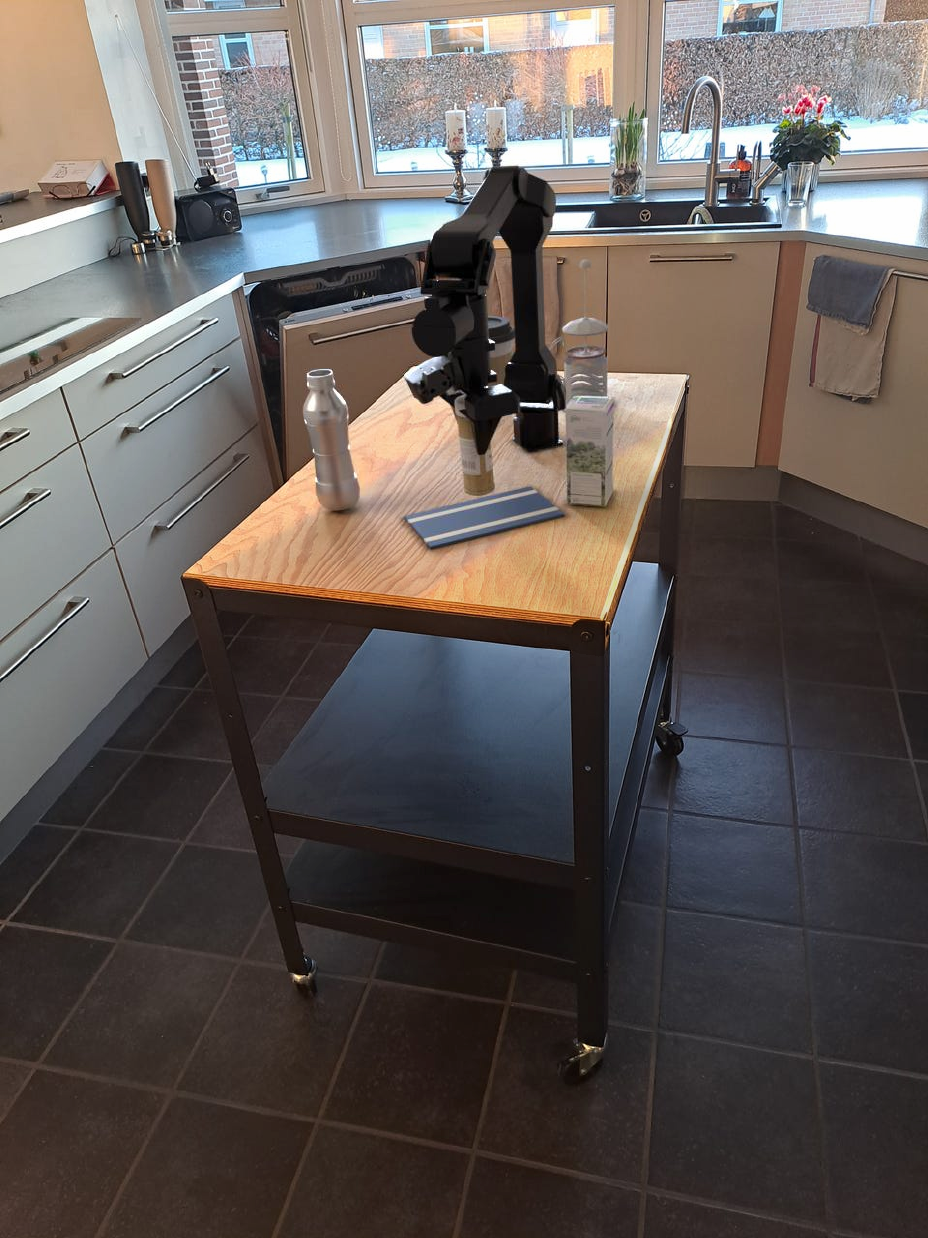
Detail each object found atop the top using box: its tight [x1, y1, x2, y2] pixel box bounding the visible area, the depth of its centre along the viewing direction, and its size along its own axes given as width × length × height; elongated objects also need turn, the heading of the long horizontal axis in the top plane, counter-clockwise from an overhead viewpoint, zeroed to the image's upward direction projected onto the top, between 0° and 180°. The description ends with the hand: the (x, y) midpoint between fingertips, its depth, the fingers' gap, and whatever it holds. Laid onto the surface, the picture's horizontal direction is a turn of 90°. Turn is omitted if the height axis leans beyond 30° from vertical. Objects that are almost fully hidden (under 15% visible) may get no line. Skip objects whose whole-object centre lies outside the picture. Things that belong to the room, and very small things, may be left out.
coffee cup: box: [487, 315, 515, 387], centre depth 168 cm, size 11×11×15 cm
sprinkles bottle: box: [455, 395, 496, 497], centre depth 126 cm, size 5×5×13 cm
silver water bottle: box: [302, 368, 361, 511], centre depth 132 cm, size 6×7×20 cm
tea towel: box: [403, 485, 565, 550], centre depth 130 cm, size 20×11×1 cm, turn 112°
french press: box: [548, 259, 610, 412], centre depth 161 cm, size 10×12×25 cm
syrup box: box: [564, 396, 615, 508], centre depth 129 cm, size 6×6×14 cm
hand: (474, 448), depth 126 cm, fingers closed on sprinkles bottle, 4 cm apart
